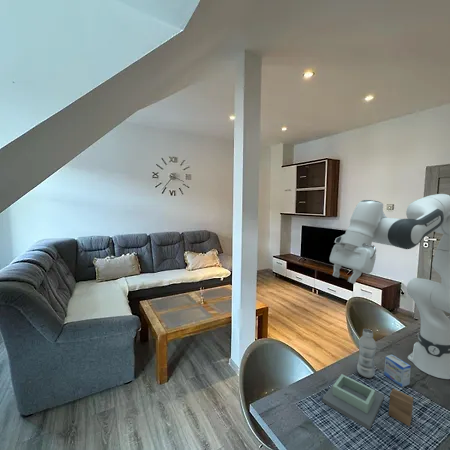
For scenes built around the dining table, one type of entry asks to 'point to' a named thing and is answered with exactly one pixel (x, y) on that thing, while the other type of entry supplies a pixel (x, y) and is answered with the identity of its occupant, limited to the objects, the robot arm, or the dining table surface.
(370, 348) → the plastic bottle
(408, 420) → the walnut block
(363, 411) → the board
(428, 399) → the dining table surface
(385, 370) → the medicine box
